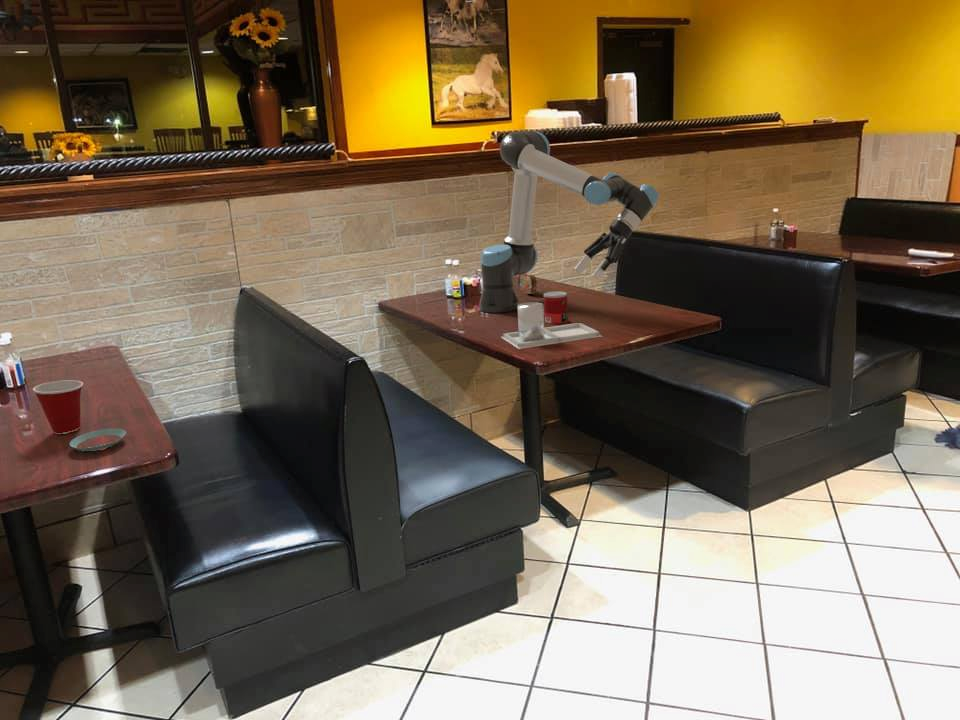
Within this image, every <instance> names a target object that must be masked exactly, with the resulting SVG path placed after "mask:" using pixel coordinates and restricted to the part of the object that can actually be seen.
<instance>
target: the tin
mask: <svg viewBox="0 0 960 720" xmlns="http://www.w3.org/2000/svg"><path fill="white" fill-rule="evenodd" d="M517 283H518V288H519V291H520V290H523V291H525V292H527V293H529V294H534V295H535V294H536V293H537V278H536V276H535V275H534V274H531V273H529V272H527V273H525V274H521V275H518V281H517Z"/></svg>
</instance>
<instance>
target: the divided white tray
mask: <svg viewBox="0 0 960 720" xmlns="http://www.w3.org/2000/svg"><path fill="white" fill-rule="evenodd" d="M544 337H545V339H543V340H536V341H530V342H521V341H519V331H513V332H505V333H502V336H500V338H501V339H503V341H505V342H507V343H509V344H510V345H511V346H513V347H515V348H516V349H519V350H522V349H528V348H534V347H541V346H547V345H549V346H550V345H555V344H561V343H567V342H573V341H580V340H587V339H588V340H589V339H593V338H600V337H601V338H603V335H601V334H600V331H598V330H596V329H594V328H592V327H590V326H588V325H585V324H584V323H581V322H575V323H569V324H568V323H566V324H561V325H555V326H548V327H547V326H546V327H544Z"/></svg>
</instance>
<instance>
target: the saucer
mask: <svg viewBox="0 0 960 720" xmlns="http://www.w3.org/2000/svg"><path fill="white" fill-rule="evenodd" d="M126 434H127V431H126V430H124V429H120V428H106V429H105V428H104V429H98V430H94V431H90V432H87V433H83V434H81V435H79V436H77V437H75V438H73V439H72V440H70V442H69V446H70V448H71V447H72V448H73V449H75V450H77V451H80V450H81V451H80V452H84V451H91V450H98V449H103V448H106V447H109V446H112V445H114V444H116V443H117V444H119V443H120V442H121V441H122V440H123V439H124V437H125V436H126ZM101 435H117V436H120V437H121V438H120V439H118V440H116V441H114V442H111V443H108V444H104V445H100V446H96V447H88V448H77V445H78V444H79V443H81V442H83V441H85V440H86V439H89V438H92V437H96V436H101ZM118 442H119V443H118ZM117 444H116V445H117ZM114 446H115V445H114Z"/></svg>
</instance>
